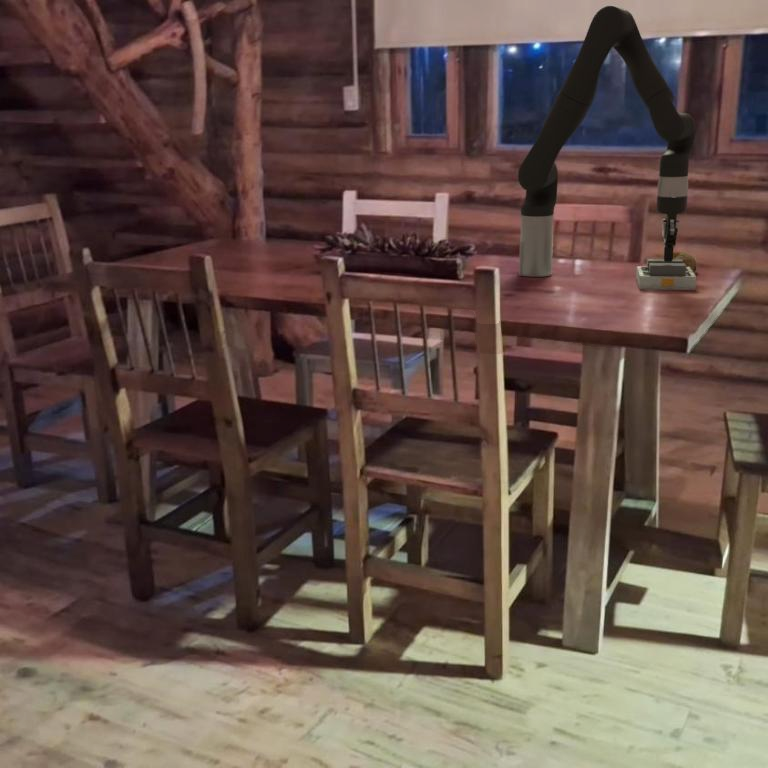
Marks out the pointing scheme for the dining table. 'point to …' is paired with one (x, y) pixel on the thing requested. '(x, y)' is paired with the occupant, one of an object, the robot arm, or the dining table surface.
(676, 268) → the panel
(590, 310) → the dining table surface
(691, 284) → the rack
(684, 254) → the bread roll
